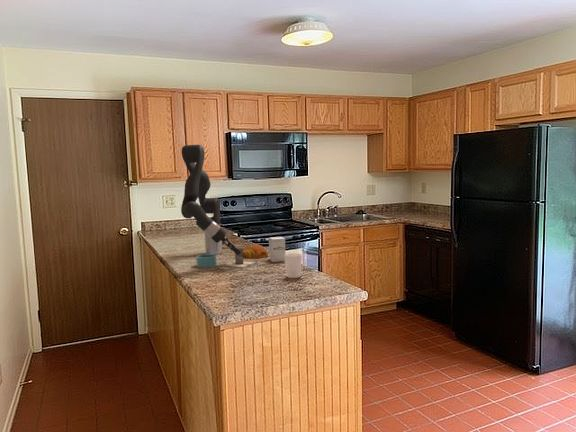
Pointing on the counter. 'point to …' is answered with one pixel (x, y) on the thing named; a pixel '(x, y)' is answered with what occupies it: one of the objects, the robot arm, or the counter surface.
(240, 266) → the lid
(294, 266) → the white cup
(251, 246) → the croissant
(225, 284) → the counter surface
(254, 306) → the counter surface
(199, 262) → the bowl
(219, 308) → the counter surface
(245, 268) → the mat
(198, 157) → the robot arm
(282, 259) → the supplement box
